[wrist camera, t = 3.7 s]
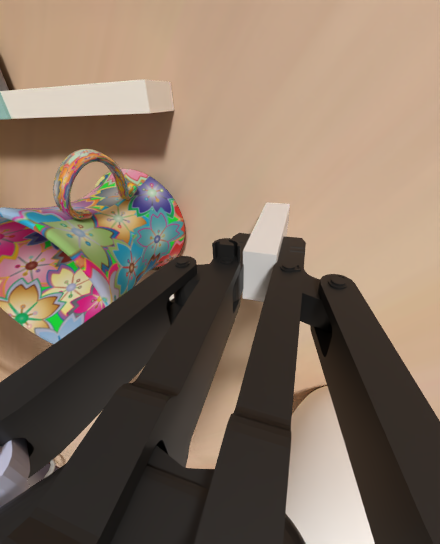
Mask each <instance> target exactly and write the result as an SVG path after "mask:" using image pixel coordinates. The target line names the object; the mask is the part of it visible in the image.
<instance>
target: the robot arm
mask: <svg viewBox="0 0 440 544" xmlns="http://www.w3.org/2000/svg"><path fill="white" fill-rule="evenodd" d="M289 209H290V204H284V203H267V202H266V204H265V206H264V208H263V210H262V212H261V215H260V217H259V219H258V221H257V223H256V225H255V227H254V229H253V231H252V233H251V234H244V233H238V234H237V235H235V236H233V238H232V239H230V238H224V239H219V240H216V241H215V242H213V243H212V246H213V260H212V262H211V263H210V264H204V265H196V260H195V259H194V258H192V257H188V256H180V257H177V258H174V259H173V260H171V261H169V262H168V263H167V264H165V265H164V266H162V267H161V268H160V269H158V270H157V271H156V272H154V273H153V274H151V275H150V276H149V277H147V278H146V279H144V280H143V281H142V282H140V283H139V284H137V285H136V286H135V287H133V288H132V289H130V290H129V291H128V292H126V293H125V294H123V295H122V296H121V297H119V298H118V299H116V300H115V301H114V302H112V303H111V304H109V305H108V306H107V307H105V308H104V309H102V310H101V311H100V312H98V313H97V314H95V315H94V316H93V317H91V318H90V319H88V320H87V321H86V322H84V323H83V324H81V325H80V326H79V327H77V328H76V329H74V330H73V331H72V332H70V333H69V334H67V335H66V336H65V337H63V338H62V339H60V340H59V341H58V342H56V343H55V344H53V345H52V346H51V347H49V348H48V349H46V350H45V351H44V352H42V353H41V354H39V355H38V356H37V357H35V358H34V359H32V360H31V361H30V362H28V363H27V364H25V365H24V366H23V367H21V368H20V369H18V370H17V371H16V372H14V373H13V374H12V375H10V376H9V377H7V378H6V379H5V380H3V381H2V382H0V544H306V543H305V541H304V539H303V537H302V536H301V534H300V532H299V531H298V529H297V528H296V526H295V525H294V523H293V522H292V520H291V519H290V518H289V517H288V516H287V514H286V513H285V512H286V500H287V488H288V475H289V463H290V451H291V417H292V405H293V394H294V382H295V371H296V359H297V347H298V336H299V324H300V321H302V322H304V323H306V324H309V325H311V333H312V336H313V339H314V343H315V346H316V349H317V353H318V356H319V359H320V363H321V366H322V369H323V373H324V376H325V379H326V383H327V386H328V389H329V393H330V396H331V399H332V403H333V406H334V409H335V413H336V416H337V419H338V423H339V426H340V429H341V433H342V436H343V439H344V443H345V446H346V449H347V453H348V456H349V459H350V463H351V466H352V469H353V473H354V476H355V479H356V483H357V486H358V489H359V493H360V496H361V499H362V503H363V506H364V509H365V513H366V516H367V519H368V523H369V526H370V529H371V533H372V536H373V539H374V543H375V544H440V421H439V419H438V418H437V416H436V414H435V413H434V411H433V410H432V408H431V406H430V405H429V403H428V401H427V400H426V398H425V397H424V395H423V393H422V392H421V390H420V388H419V387H418V385H417V384H416V382H415V380H414V379H413V377H412V375H411V374H410V372H409V371H408V369H407V367H406V366H405V364H404V362H403V361H402V359H401V358H400V356H399V354H398V353H397V351H396V349H395V348H394V346H393V345H392V343H391V341H390V340H389V338H388V336H387V335H386V333H385V332H384V330H383V328H382V327H381V325H380V323H379V322H378V320H377V319H376V317H375V315H374V314H373V312H372V310H371V309H370V307H369V306H368V304H367V302H366V301H365V299H364V297H363V296H362V294H361V293H360V291H359V289H358V288H357V286H356V284H355V283H354V282H353V281H352V280H351V279H349V278H347V277H345V276H342V275H337V274H329V275H325V276H323V277H322V278H321V279H320V280H319V279H316V278H314V277H312V276H310V275H308V274H307V273H306V272H305V270H304V256H305V245H306V243H305V241H304V240H303V239H302V238H294V237H287V228H288V219H289ZM242 291H243V299H249V300H256V301H262V302H264V304H263V307H262V311H261V315H260V318H259V322H258V326H257V330H256V333H255V337H254V341H253V345H252V348H251V352H250V356H249V360H248V363H247V367H246V371H245V375H244V378H243V382H242V386H241V390H240V393H239V397H238V401H237V405H236V408H235V411H234V413H233V414H231V416H230V418H229V421H228V424H227V427H226V431H225V434H224V438H223V442H222V445H221V449H220V452H219V456H218V459H217V463H216V467H215V469H191V468H185V467H186V463H187V459H188V452H189V445H190V441H191V438H192V435H193V432H194V430H195V427H196V424H197V421H198V419H199V416H200V413H201V411H202V408H203V405H204V402H205V400H206V397H207V394H208V391H209V389H210V386H211V383H212V381H213V378H214V375H215V372H216V370H217V367H218V364H219V361H220V359H221V356H222V353H223V351H224V348H225V345H226V342H227V340H228V337H229V334H230V331H231V329H232V326H233V323H234V321H235V318H236V315H237V312H238V310H239V307H240V296H241V294H242ZM173 294H174V298H173V299H172V300H170V299H169V298H170V297H171V296H172V295H173ZM145 365H146V366H145ZM144 366H145V367H144ZM143 367H144V369H143V370H142V372H141V374H140V375H139V377H138V378H137V379H136V381H135V382H133V383H129V382H130V381H131V380H132V379H133V378H134V377H135V376H136V375H137V374H138V373H139V372H140V370H141V369H142V368H143ZM102 410H103V411H102ZM101 411H102V412H101ZM100 412H101V414H100V415H99V416H98V418H97V419H96V421H95V422H94V424H93V425H92V427H91V428H90V430H89V431H88V433H87V434H86V436H85V437H84V439H83V440H82V441H81V443H80V444H79V446H78V447H77V449H76V450H75V452H74V453H73V455H72V456H71V458H70V459H69V461H68V462H67V463H66V464H65V465H64V466H62V467H61V468H59V469H58V470H56V471H55V472H53V473H52V474H50V475H48V476H47V477H45V478H44V479H43V480H41V481H39V482H38V483H36V484H35V485H33V486H32V487H30V488H29V483H28V482H27V480H28V478H29V477H30V476H32V475H33V474H35V473H36V472H38V471H39V470H40V469H42V468H43V467H44V466H45V465H46V464H48V463H49V462H50V461H51V460H53V459H54V458H55V457H56V456H57V455H58V454H60V453H61V452H62V451H63V450H64V449H65V448H66V447H67V446H68V445H69V444H70V443H71V442H72V441H73V440H74V439H75V438H76V437H77V436H78V435H79V434H80V433H81V432H82V431H83V430H84V429H85V428H86V427H87V426H88V425H89V424H90V423H91V422H92V421H93V419H94V418H95V417H96V416H97V415H98V414H99V413H100Z"/></svg>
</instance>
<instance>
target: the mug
mask: <svg viewBox="0 0 440 544" xmlns="http://www.w3.org/2000/svg"><path fill="white" fill-rule="evenodd" d="M95 161H98V162H102V163H104V164H105V165H106V166H107V167H108V168H109V169H110V172H108V173H106V174H105V175H103V176H102V177H101V178H100V179H99V180H98V182H97V183H96V185H95V187H94V189H93V190H92V191H91V192H90V193H89V194H88V195H86V196H84V197H83V198H81V199H79V200H76V201H74V202H70V192H71V187H72V184H73V182H74V179H75V177H76V176H77V174H78V172H79V171H80V170H81V169H82V168H83V167H84V166H85V165H87V164H88V163H91V162H95ZM53 194H54V199H55V202H56V204H57V206H54V207H46V208H5V207H0V307H1V308H2V309H3V310H4V311H5V312H6V313H7V314H8V315H9V316H11V317H12V318H13V319H14V320H15V321H17V322H18V323H19V324H21V325H22V326H23V327H25V328H26V329H27V330H29V331H31V332H32V333H34V334H35V335H37V336H39V337H40V338H42V339H44V340H46V341H48V342H50V343H52V344H55V343H56V342H58V341H59V340H60V339H62V338H63V337H65V336H66V335H67V334H69V333H70V332H72V331H73V330H74V329H76V328H77V327H79V326H80V325H81V324H83V323H84V322H86V321H87V320H88V319H90V318H91V317H93V316H94V315H95V314H97V313H98V312H100V311H101V310H102V309H104V308H105V307H107V306H108V305H109V304H111V303H112V302H114V301H115V300H116V299H118V298H119V297H121V296H122V295H123V294H125V293H126V292H128V291H129V290H130V289H132V288H133V287H135V285H136V284H137V283H138V281H139V280H140V279H141V278H142V277H143V276H144V275H145V274H146V273H147V272H148V271H150V270H151V269H153V268H155V267H159V266H163V265H165V264H167V263H168V262H169V261H171V260H173V259H174V258H176V257H177V256H178V254H179V253H180V251H181V249H182V246H183V243H184V238H185V226H184V221H183V217H182V214H181V212H180V209H179V207H178V205H177V203H176V202H175V200H174V199H173V197H172V196H171V194H170V193H169V192H168V191H167V190H166V189H165V188H164V187H163V186H162V185H161V184H160V183H159V182H158V181H156V180H155V179H153V178H152V177H150V176H148V175H147V174H144V173H142V172H139V171H136V170H132V169H120V167H119V166H118V165H117V164H116V163H115V162H114V161H113V160H112V159H111V158H109V157H108V156H106V155H105V154H103V153H101V152H98V151H96V150H92V149H80V150H77V151H75V152H73V153H71V154H70V155H69V156H68V157H67V158H66V159H65V160H64V161H63V162H62V164H61V165H60V167H59V169H58V171H57V174H56V176H55V180H54V186H53Z"/></svg>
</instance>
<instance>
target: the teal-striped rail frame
mask: <svg viewBox="0 0 440 544" xmlns="http://www.w3.org/2000/svg"><path fill="white" fill-rule="evenodd" d="M166 111H174V105H173V97H172V88H171V82H168V81H157V80H146V79H143V80H131V81H119V82H106V83H94V84H82V85H70V86H57V87H45V88H33V89H21V90H9V89H8V87H7V84H6V82H5V79H4V77H3V74H2V72H1V69H0V119H18V118H43V117H68V116H93V115H118V114H143V113H157V112H166ZM156 271H157V270H150V271H148V272H147V273H146V274H145V275H144V276H143V277H142V278H141V279H140V280H139V281H138V283H137V284H139V283H140V282H142V281H143V280H144V279H146V278H147V277H149V276H150V275H151V274H153V273H154V272H156ZM137 284H136V285H137ZM136 285H135V286H136ZM173 298H174V294H173V295H172V296H171V297H170V298H169V299H170V300H172V299H173Z"/></svg>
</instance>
